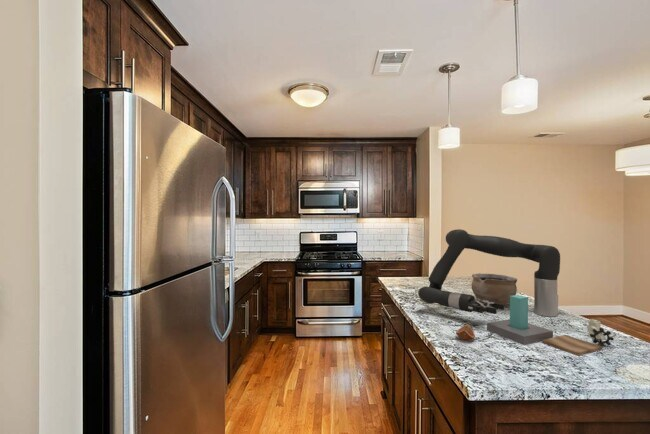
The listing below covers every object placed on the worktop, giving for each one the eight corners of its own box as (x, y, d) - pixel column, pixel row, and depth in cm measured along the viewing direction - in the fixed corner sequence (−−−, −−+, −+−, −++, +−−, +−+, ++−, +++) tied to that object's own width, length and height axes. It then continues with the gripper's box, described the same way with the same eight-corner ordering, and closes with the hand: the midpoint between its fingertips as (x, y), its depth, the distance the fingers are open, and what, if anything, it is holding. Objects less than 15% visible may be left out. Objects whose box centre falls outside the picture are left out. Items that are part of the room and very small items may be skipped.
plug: (517, 331, 129) (517, 294, 129) (527, 335, 125) (528, 297, 125) (509, 333, 127) (509, 295, 127) (520, 337, 123) (520, 298, 123)
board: (565, 337, 123) (565, 334, 123) (602, 349, 112) (602, 346, 112) (541, 342, 117) (541, 340, 117) (577, 355, 106) (577, 352, 106)
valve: (582, 334, 127) (590, 344, 116) (582, 317, 127) (590, 326, 116) (603, 337, 124) (613, 348, 113) (603, 320, 124) (613, 329, 113)
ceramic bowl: (462, 299, 179) (462, 273, 179) (493, 297, 186) (493, 271, 186) (494, 310, 158) (494, 280, 158) (527, 307, 164) (527, 278, 165)
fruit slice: (472, 345, 115) (473, 331, 115) (453, 341, 119) (453, 327, 119) (476, 337, 122) (476, 325, 122) (458, 334, 126) (458, 321, 126)
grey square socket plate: (513, 325, 136) (513, 318, 136) (552, 338, 121) (552, 330, 121) (486, 330, 130) (486, 323, 130) (524, 344, 115) (524, 336, 115)
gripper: (454, 295, 138) (493, 303, 126) (468, 291, 148) (506, 297, 136) (454, 313, 138) (493, 322, 126) (468, 307, 148) (506, 315, 136)
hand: (500, 309), depth 131 cm, fingers open, 8 cm apart
